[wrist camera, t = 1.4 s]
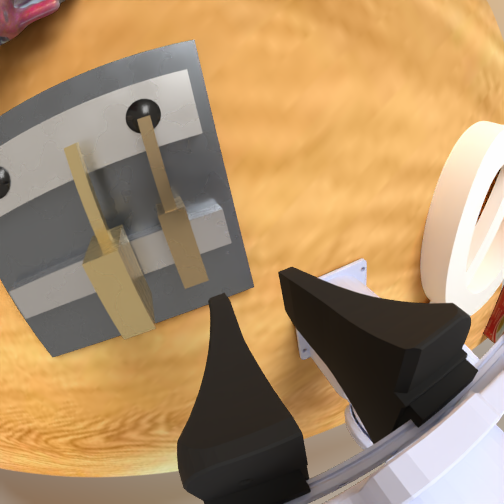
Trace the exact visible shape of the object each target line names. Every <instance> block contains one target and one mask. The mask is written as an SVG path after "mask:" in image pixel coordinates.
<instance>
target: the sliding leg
mask: <svg viewBox="0 0 504 504" xmlns="http://www.w3.org/2000/svg"><path fill="white" fill-rule="evenodd" d="M64 152H65V155H66V158H67V161H68V164H69V167H70V170H71V173H72V176H73V179H74V182H75V185H76V188H77V190H78V193H79V196H80V198H81V201H82V204H83V206H84V209H85V211H86V214H87V216H88V219H89V221H90V224H91V226H92V229H93V231H94V233H95V235H94V236H92V238H91V241H90V244H89V246H88V249H87V252H86V254H85V257H84V260H83V263H82V266H83V268H84V270H85V272H86V274H87V276H88V278H89V280H90V281H91V283H92V285H93V287H94V289H95V291H96V293H97V294H98V296H99V298H100V300H101V302H102V303H103V305H104V307H105V309H106V310H107V312H108V314H109V316H110V317H111V319H112V321H113V322H114V324H115V326H116V327H117V329H118V330H119V332H120V334H121V335H122V337H123V338H124V339H127V338H130V337H133V336H136V335H139V334H142V333H145V332H148V331H151V330H153V329H156V325H155V317H154V309H153V300H152V292H151V290H150V288H149V286H148V284H147V282H146V279H145V277H144V275H143V273H142V271H141V268H140V266H139V264H138V261H137V259H136V257H135V254H134V252H133V250H132V247H131V245H130V242H129V240H128V238H127V235H126V233H125V230H124V228H123V225H119V226H117V227H114V228H112V229H109V227H108V225H107V222H106V220H105V217H104V215H103V212H102V210H101V207H100V204H99V202H98V199H97V196H96V194H95V191H94V188H93V185H92V183H91V180H90V177H89V174H88V171H87V168H86V165H85V162H84V159H83V155H82V152H81V149H80V146H79V142H77V143H75V144H72V145H70V146H68V147H66V148H64Z"/></svg>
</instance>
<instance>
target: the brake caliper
mask: <svg viewBox="0 0 504 504" xmlns="http://www.w3.org/2000/svg"><path fill="white" fill-rule="evenodd" d="M64 1H65V0H0V45H2V44H4V43H6V42H8V41H10V40H12V39H13V38H14V37H16V36H17V35H18V34H20V33H21V32H22V31H23V30H24V29H25V28H26V27H27V26H28V25H29V24H30V23H32V22H34V21H36V20H38V19H41V18H43V17H46V16H48V15H50V14H52V13H54V12H55V11H57V10H58V8H59V7H60V3H62V2H64Z"/></svg>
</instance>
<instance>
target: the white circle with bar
mask: <svg viewBox="0 0 504 504" xmlns="http://www.w3.org/2000/svg"><path fill="white" fill-rule="evenodd" d="M500 168H501V170H500V173H499V175H498V178H497V180H496V183H495V185H494V187H493V190H492V192H491V194H490V197H489V199H488V201H487V203H486V206H485V208H484V210H483V212H482V214H481V216H480V218H479V220H478V222H477V219H478V216H479V213H480V210H481V207H482V204H483V202H484V199H485V197H486V194H487V192H488V190H489V187H490V185H491V183H492V181H493V179H494V177H495V176H496V174H497V172H498V171H499V169H500ZM476 222H477V224H476ZM475 225H476V226H475ZM420 273H421V282H422V287H423V290H424V292H425V295H426V296H427V298H428V299H429V300H430V303H454V304H455V305H457V306H458V307H459V308H461V309H462V310H463V311H465V312H466V313H467V314H468V315H470V316H471V315H473V314H474V313H475V312H477V311H478V310H479V309H480V308H481V307H482V306H483V305H484V304H485V303H486V302H487V301H488V300H489V299H490V297H491V296H492V295H493V294H494V292H495V291H496V290H497V288H498V287H499V285H500V284H501V282H502V281H503V279H504V125H501V124H496V123H492V122H488V121H480V122H477V123H475V124H473V125H472V126H470V127H469V128H468V129H467V130H466V131H465V132H464V133H463V134H462V136H461V137H460V138H459V140H458V141H457V143H456V144H455V146H454V147H453V149H452V151H451V153H450V155H449V157H448V159H447V161H446V163H445V165H444V167H443V170H442V172H441V175H440V177H439V180H438V183H437V185H436V188H435V191H434V194H433V198H432V201H431V204H430V208H429V212H428V216H427V220H426V225H425V230H424V235H423V241H422V249H421V260H420Z"/></svg>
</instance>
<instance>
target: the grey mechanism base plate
mask: <svg viewBox="0 0 504 504" xmlns="http://www.w3.org/2000/svg"><path fill="white" fill-rule="evenodd" d="M77 142H79V146H80V149H81V152H82V155H83V159H84V162H85V165H86V168H87V171H88V174H89V177H90V180H91V183H92V185H93V188H94V191H95V194H96V196H97V199H98V202H99V204H100V207H101V210H102V212H103V215H104V217H105V220H106V222H107V225H108V227H109V229H112V228H114V227H117V226H119V225H123V228H124V230H125V233H126V235H127V238H128V240H129V242H130V245H131V247H132V250H133V252H134V254H135V257H136V259H137V261H138V264H139V266H140V268H141V271H142V273H143V275H144V277H145V279H146V282H147V284H148V286H149V288H150V290H151V292H152V300H153V309H154V317H155V323H158V322H161V321H163V320H166V319H169V318H172V317H175V316H177V315H180V314H183V313H186V312H188V311H191V310H194V309H197V308H199V307H202V306H205V305H208V304H209V303H208V300H209V299H210V298H211V297H214V296H217V295H219V294H222V293H225V294H226V295H227V297H229V296H232V295H234V294H237V293H240V292H242V291H245V290H247V289H250V288H253V287H254V284H253V280H252V276H251V272H250V268H249V264H248V260H247V256H246V252H245V248H244V244H243V240H242V236H241V232H240V228H239V224H238V220H237V215H236V211H235V207H234V203H233V199H232V195H231V191H230V187H229V183H228V179H227V174H226V170H225V166H224V162H223V158H222V154H221V150H220V145H219V141H218V137H217V133H216V129H215V125H214V120H213V116H212V112H211V108H210V104H209V100H208V95H207V91H206V87H205V83H204V78H203V74H202V70H201V66H200V61H199V57H198V53H197V49H196V44H195V40H190V41H185V42H181V43H176V44H172V45H168V46H164V47H160V48H156V49H153V50H149V51H145V52H142V53H139V54H135V55H132V56H129V57H126V58H123V59H120V60H117V61H114V62H111V63H108V64H105V65H103V66H100V67H97V68H95V69H92V70H90V71H87V72H85V73H82V74H80V75H78V76H75V77H73V78H71V79H68V80H66V81H64V82H62V83H60V84H58V85H56V86H53V87H51V88H49V89H47V90H45V91H43V92H41V93H39V94H38V95H36V96H34V97H32V98H30V99H28V100H26V101H25V102H23V103H21V104H19V105H18V106H16V107H14V108H13V109H11V110H9V111H8V112H6V113H4V114H3V115H1V116H0V279H1V281H2V283H3V285H4V286H5V288H6V290H7V291H8V293H9V295H10V296H11V298H12V300H13V301H14V303H15V305H16V306H17V308H18V309H19V311H20V312H21V314H22V316H23V317H24V319H25V320H26V322H27V323H28V324H29V326H30V327H31V329H32V330H33V332H34V333H35V334H36V336H37V337H38V339H39V340H40V341H41V343H42V344H43V345H44V347H45V348H46V349H47V351H48V352H49V353H50V355H51V356H52V357H55V356H59V355H62V354H65V353H68V352H71V351H74V350H78V349H81V348H84V347H87V346H90V345H93V344H96V343H99V342H102V341H105V340H108V339H111V338H114V337H117V336H120V335H121V334H120V332H119V330H118V329H117V327H116V326H115V324H114V322H113V321H112V319H111V317H110V316H109V314H108V312H107V310H106V309H105V307H104V305H103V303H102V302H101V300H100V298H99V296H98V294H97V293H96V291H95V289H94V287H93V285H92V283H91V281H90V280H89V278H88V276H87V274H86V272H85V270H84V268H83V266H82V263H83V260H84V257H85V254H86V252H87V249H88V246H89V244H90V241H91V238H92V236H94V235H95V233H94V231H93V229H92V226H91V224H90V221H89V219H88V216H87V214H86V211H85V209H84V206H83V204H82V201H81V198H80V196H79V193H78V190H77V188H76V185H75V182H74V179H73V176H72V173H71V170H70V167H69V164H68V161H67V158H66V155H65V152H64V148H66V147H68V146H70V145H72V144H75V143H77Z"/></svg>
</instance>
